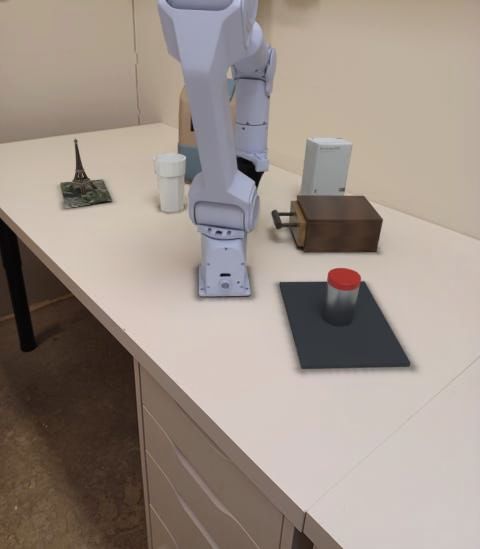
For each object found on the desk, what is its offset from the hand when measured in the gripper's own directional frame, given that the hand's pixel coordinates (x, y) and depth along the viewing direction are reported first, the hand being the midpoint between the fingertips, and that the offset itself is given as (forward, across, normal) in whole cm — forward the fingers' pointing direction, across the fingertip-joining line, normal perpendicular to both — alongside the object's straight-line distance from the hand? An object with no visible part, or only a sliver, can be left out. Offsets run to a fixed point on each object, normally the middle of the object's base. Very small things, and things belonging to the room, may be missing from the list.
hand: (248, 197), depth 87 cm
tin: (+8, +28, +5) cm, 30 cm away
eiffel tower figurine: (+8, -30, -30) cm, 43 cm away
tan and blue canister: (+8, -35, +2) cm, 36 cm away
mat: (+8, +29, +5) cm, 30 cm away
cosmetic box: (+8, -12, +21) cm, 26 cm away
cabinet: (+8, +3, +17) cm, 19 cm away
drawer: (+7, +3, +13) cm, 15 cm away
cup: (+8, -18, -12) cm, 23 cm away
